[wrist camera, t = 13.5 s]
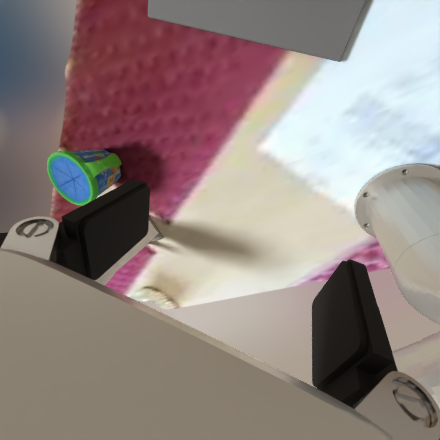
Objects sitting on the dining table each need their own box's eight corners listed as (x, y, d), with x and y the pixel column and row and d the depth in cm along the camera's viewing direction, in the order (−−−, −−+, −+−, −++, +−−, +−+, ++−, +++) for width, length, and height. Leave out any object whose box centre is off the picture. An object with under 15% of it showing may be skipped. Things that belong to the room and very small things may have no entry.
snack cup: (122, 131, 45) (79, 141, 37) (144, 180, 49) (111, 199, 41) (74, 150, 52) (29, 163, 44) (98, 192, 56) (61, 211, 48)
